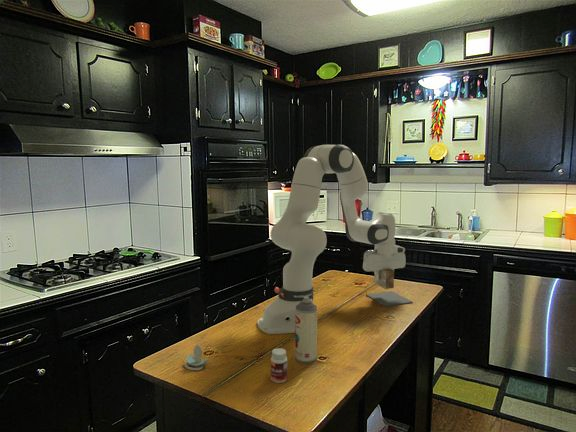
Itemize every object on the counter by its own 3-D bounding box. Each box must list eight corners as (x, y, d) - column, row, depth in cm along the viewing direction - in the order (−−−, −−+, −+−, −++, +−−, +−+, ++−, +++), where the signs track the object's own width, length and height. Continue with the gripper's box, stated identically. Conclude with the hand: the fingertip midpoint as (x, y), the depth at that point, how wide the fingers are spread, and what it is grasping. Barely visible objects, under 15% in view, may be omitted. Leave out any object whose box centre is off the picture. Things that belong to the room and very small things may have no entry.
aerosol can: (294, 353, 134) (294, 293, 131) (315, 353, 134) (316, 293, 132) (295, 363, 127) (295, 301, 125) (317, 363, 127) (318, 300, 125)
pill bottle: (267, 381, 117) (267, 353, 116) (275, 373, 121) (275, 346, 120) (283, 384, 115) (283, 356, 114) (290, 376, 119) (290, 349, 118)
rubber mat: (385, 306, 177) (385, 305, 177) (366, 295, 192) (366, 294, 192) (412, 302, 182) (412, 301, 182) (391, 292, 197) (391, 291, 197)
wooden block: (385, 289, 181) (385, 271, 180) (374, 283, 189) (374, 266, 188) (393, 288, 182) (394, 270, 181) (382, 282, 190) (382, 265, 189)
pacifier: (198, 374, 122) (211, 364, 127) (197, 354, 121) (210, 345, 126) (179, 368, 125) (193, 359, 130) (178, 348, 124) (192, 340, 129)
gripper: (367, 252, 177) (367, 283, 179) (408, 248, 184) (407, 278, 186) (360, 249, 183) (359, 279, 185) (399, 245, 190) (398, 275, 191)
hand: (383, 279), depth 185 cm, fingers closed on wooden block, 4 cm apart
